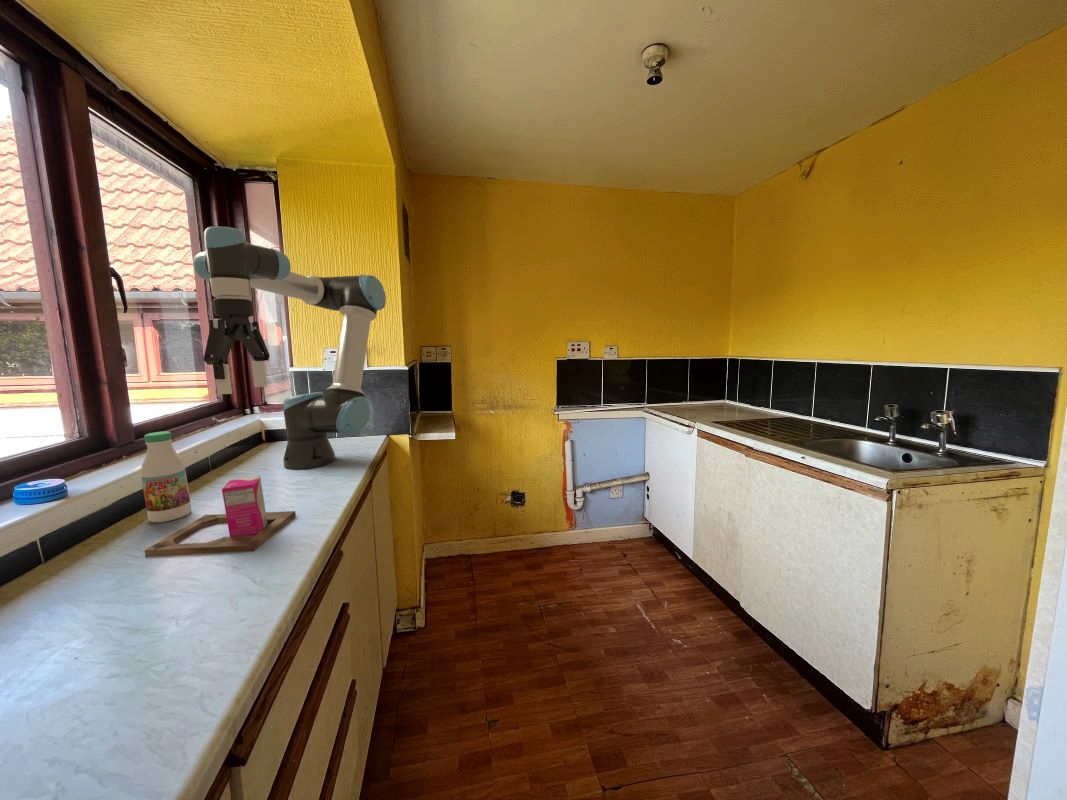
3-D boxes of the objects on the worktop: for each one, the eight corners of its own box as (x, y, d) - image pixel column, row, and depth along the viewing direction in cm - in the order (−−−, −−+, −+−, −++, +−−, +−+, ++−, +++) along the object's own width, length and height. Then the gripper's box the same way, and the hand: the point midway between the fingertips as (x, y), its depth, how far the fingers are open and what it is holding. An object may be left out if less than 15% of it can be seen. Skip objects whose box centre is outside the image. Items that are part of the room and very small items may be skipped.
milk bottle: (146, 517, 97) (132, 433, 94) (189, 507, 103) (177, 427, 100) (150, 526, 92) (135, 438, 89) (194, 515, 98) (182, 432, 95)
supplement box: (236, 530, 89) (229, 479, 88) (268, 525, 92) (262, 475, 90) (228, 542, 84) (221, 488, 82) (262, 536, 86) (256, 483, 85)
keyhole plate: (205, 519, 95) (205, 514, 95) (296, 515, 96) (295, 510, 96) (144, 556, 79) (143, 550, 79) (253, 551, 80) (252, 545, 80)
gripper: (249, 303, 108) (258, 384, 111) (172, 293, 83) (187, 397, 87) (278, 303, 108) (287, 383, 112) (211, 292, 84) (225, 396, 87)
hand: (244, 390), depth 99 cm, fingers open, 13 cm apart
